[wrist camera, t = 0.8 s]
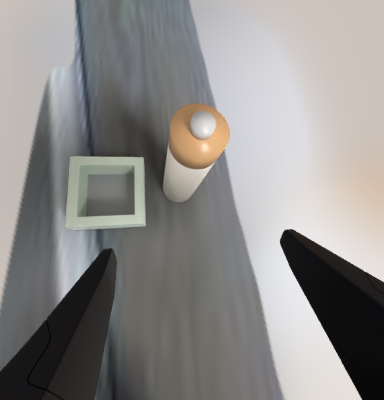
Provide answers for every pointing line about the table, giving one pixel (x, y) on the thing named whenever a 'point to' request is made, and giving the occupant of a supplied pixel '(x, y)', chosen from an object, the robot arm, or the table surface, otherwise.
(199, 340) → the table surface
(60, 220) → the table surface
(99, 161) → the frame
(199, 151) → the cell
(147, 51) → the table surface
